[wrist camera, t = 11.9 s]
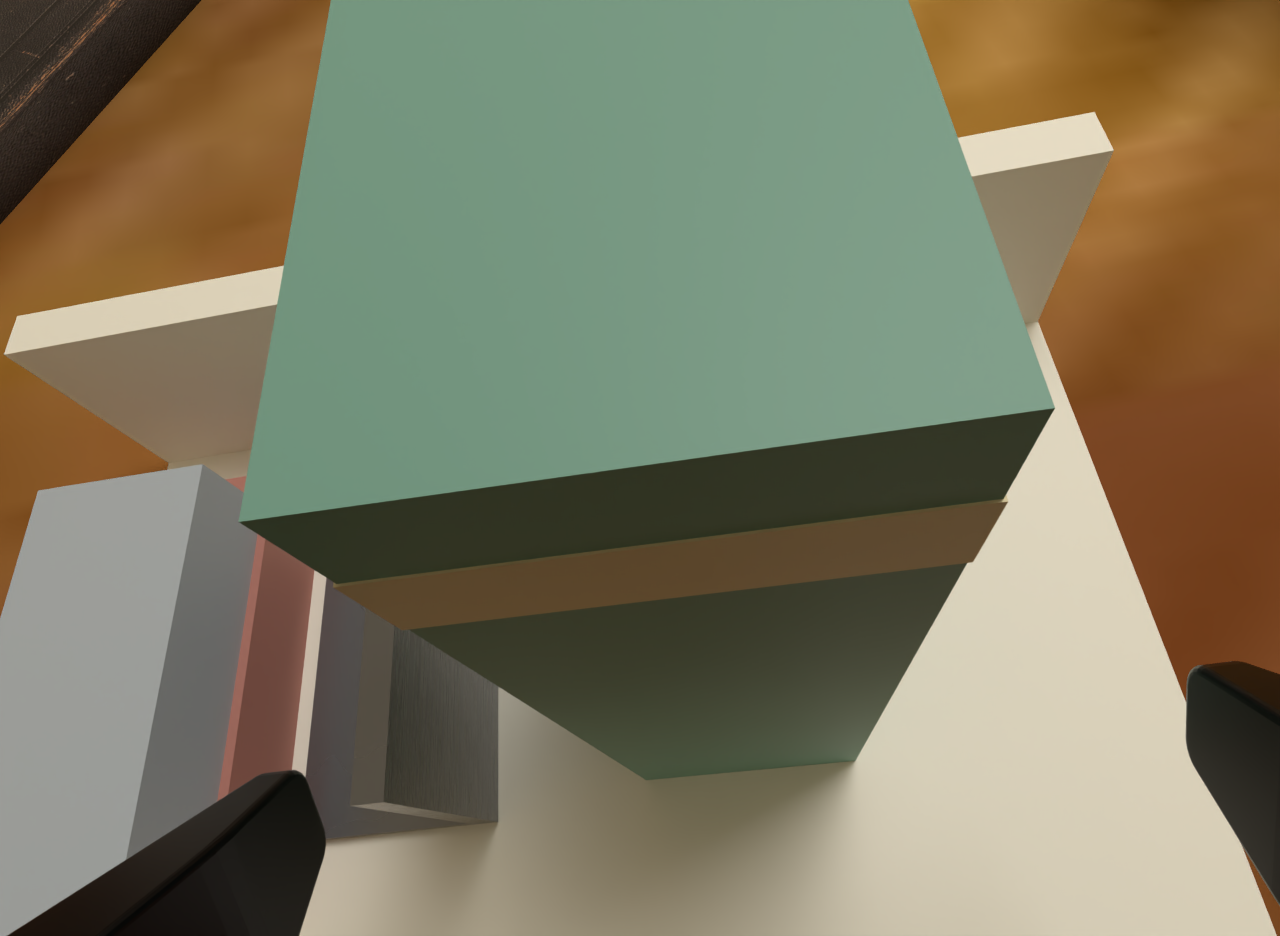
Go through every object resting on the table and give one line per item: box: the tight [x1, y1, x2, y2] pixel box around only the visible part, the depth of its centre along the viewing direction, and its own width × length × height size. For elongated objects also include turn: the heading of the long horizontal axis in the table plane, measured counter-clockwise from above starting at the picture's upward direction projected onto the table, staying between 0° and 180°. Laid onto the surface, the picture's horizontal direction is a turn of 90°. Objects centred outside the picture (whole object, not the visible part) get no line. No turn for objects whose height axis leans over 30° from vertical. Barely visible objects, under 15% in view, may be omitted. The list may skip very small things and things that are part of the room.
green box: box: [239, 0, 1055, 780], centre depth 11 cm, size 5×4×13 cm
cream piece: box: [0, 112, 1277, 936], centre depth 15 cm, size 14×22×6 cm, turn 95°
